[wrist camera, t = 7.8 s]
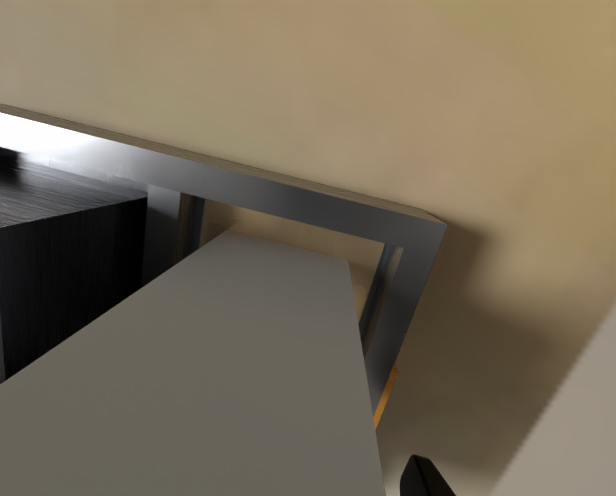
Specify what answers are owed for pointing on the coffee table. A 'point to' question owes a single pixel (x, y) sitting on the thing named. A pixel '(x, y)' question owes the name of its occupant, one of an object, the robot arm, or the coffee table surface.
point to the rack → (179, 234)
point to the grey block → (203, 387)
